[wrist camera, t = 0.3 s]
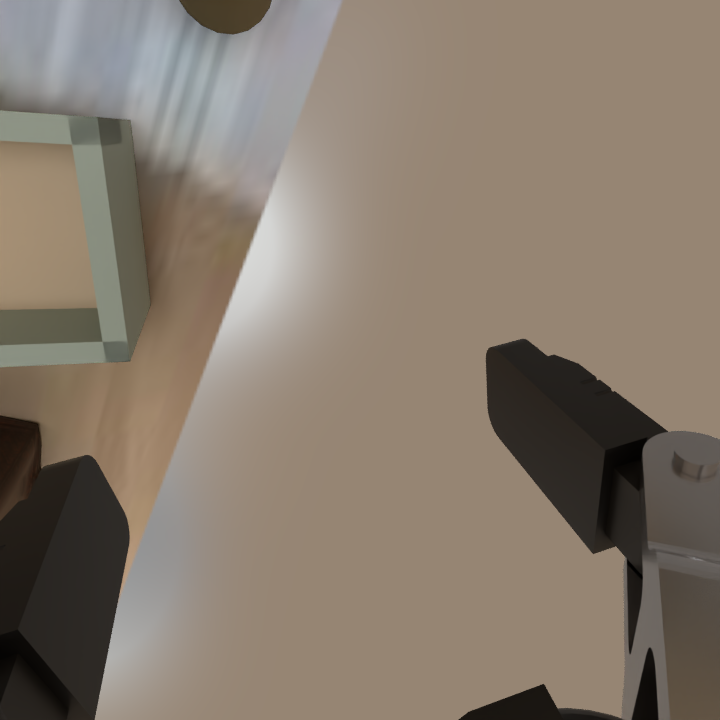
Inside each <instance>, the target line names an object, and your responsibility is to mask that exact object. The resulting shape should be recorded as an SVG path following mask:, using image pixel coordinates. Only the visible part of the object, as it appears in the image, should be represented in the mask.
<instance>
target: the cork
mask: <svg viewBox="0 0 720 720" xmlns="http://www.w3.org/2000/svg"><path fill="white" fill-rule="evenodd" d="M180 2H181V4H182V5H183V7H184V8H185V10H186V11H187V13H188V14H190V15H191V16H192V17H193V18H194V19H195V20H196V21H197V22H199V23H200V24H201V25H202V26H204V27H207V28H209V29H211V30H213V31H215V32H217V33H226V34H237V33H240V32H244V31H248V30H249V29H251V28H252V27H254V26H255V25H256V24H258V23H259V22H260V21H261V20H262V18H263V17H264V15H265V14H266V12H267V11H268V9H269V8H270V4H271V0H180Z"/></svg>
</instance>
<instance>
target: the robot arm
mask: <svg viewBox="0 0 720 720" xmlns="http://www.w3.org/2000/svg"><path fill="white" fill-rule="evenodd" d="M486 374H487V401H488V402H487V404H488V413H489V418H490V421H491V424H492V427H493V429H494V431H495V433H496V434H497V436H498V437H499V439H500V440H501V441H502V442H503V443H504V445H505V446H506V447H507V448H508V449H509V451H510V452H511V453H512V455H513V456H514V457H515V458H516V459H517V461H518V462H519V463H520V464H521V466H522V467H523V468H524V469H525V471H526V472H527V473H528V474H529V475H530V477H531V478H532V479H533V480H534V482H535V483H536V484H537V485H538V486H539V488H540V489H541V490H542V492H543V493H544V494H545V495H546V497H547V498H548V499H549V500H550V501H551V502H552V504H553V505H554V506H555V508H556V509H557V510H558V511H559V513H560V514H561V515H562V516H563V517H564V518H565V520H566V521H567V522H568V524H569V525H570V526H571V527H572V529H573V530H574V531H575V532H576V534H577V535H578V536H579V537H580V538H581V540H582V541H583V542H584V543H585V545H586V546H587V547H588V548H589V549H590V551H591V552H592V553H593V554H594V553H598V552H601V551H604V550H606V549H609V548H612V547H615V546H616V547H617V548H618V549H619V550H620V551H621V552H622V554H623V555H624V556H625V561H624V569H623V573H624V576H623V577H624V650H625V651H624V652H625V672H624V689H623V700H622V718H618V717H615V716H612V715H609V714H604V713H600V712H595V711H591V710H583V709H572V708H559V709H557V707H556V705H555V703H554V701H553V700H552V698H551V696H550V694H549V693H548V690H547V689H546V687H545V685H544V684H542V685H540V686H537V687H534V688H531V689H529V690H526V691H523V692H521V693H518V694H515V695H513V696H510V697H507V698H505V699H502V700H499V701H497V702H494V703H491V704H489V705H486V706H483V707H481V708H478V709H475V710H472V711H470V712H468V713H467V714H465V715H464V716H463V717H461V718H460V719H459V720H720V439H717V438H714V437H712V436H709V435H705V434H701V433H696V432H687V431H671V432H668V431H667V430H665V429H664V428H663V427H662V426H660V425H659V424H658V423H656V422H655V421H654V420H652V419H651V418H650V417H648V416H647V415H646V414H644V413H643V412H642V411H640V410H639V409H638V408H636V407H635V406H634V405H632V404H631V403H630V402H628V401H627V400H626V399H624V398H623V397H622V396H620V395H619V394H618V393H617V392H615V391H614V392H612V391H611V388H610V387H609V386H607V385H606V384H605V383H603V382H602V381H601V380H597V379H596V377H595V376H594V375H592V374H591V373H590V372H589V371H587V370H586V369H585V368H583V367H582V366H581V365H579V364H578V363H575V362H572V361H570V360H567V359H564V358H562V357H559V356H556V355H551V356H547V355H545V354H544V353H543V352H541V351H540V350H539V349H538V348H537V347H535V346H534V345H533V344H531V343H530V342H529V341H528V340H526V339H520V340H516V341H512V342H509V343H505V344H501V345H498V346H494V347H490V348H489V349H488V350H487V353H486ZM129 539H130V537H129V526H128V522H127V518H126V515H125V513H124V511H123V509H122V507H121V505H120V503H119V501H118V500H117V498H116V496H115V494H114V492H113V491H112V489H111V487H110V485H109V483H108V481H107V480H106V478H105V476H104V474H103V472H102V471H101V469H100V467H99V465H98V463H97V462H96V460H95V459H94V458H93V457H92V456H90V455H84V456H81V457H77V458H73V459H70V460H66V461H62V462H58V463H55V464H51V465H47V466H45V467H43V468H42V469H41V471H40V473H39V475H38V477H37V479H36V481H35V483H34V485H33V487H32V490H31V492H30V494H29V496H28V498H27V499H25V500H21V501H18V502H17V504H16V505H15V506H14V507H13V508H12V509H11V510H10V511H9V512H8V513H7V514H6V515H5V516H4V517H3V519H2V520H1V521H0V720H95V715H96V709H97V704H98V699H99V694H100V689H101V684H102V679H103V674H104V668H105V664H106V659H107V654H108V648H109V643H110V638H111V634H112V628H113V623H114V618H115V613H116V608H117V603H118V598H119V593H120V588H121V583H122V578H123V573H124V568H125V563H126V558H127V552H128V547H129Z"/></svg>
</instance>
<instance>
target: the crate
mask: <svg viewBox="0 0 720 720" xmlns="http://www.w3.org/2000/svg"><path fill="white" fill-rule="evenodd" d="M150 305H151V303H150V294H149V285H148V276H147V266H146V257H145V248H144V239H143V230H142V221H141V212H140V203H139V194H138V185H137V176H136V167H135V158H134V148H133V139H132V130H131V121H130V120H122V119H111V118H100V117H86V116H72V115H57V114H43V113H29V112H14V111H0V367H15V366H37V365H60V364H83V363H105V362H128V361H130V360H131V357H132V355H133V352H134V349H135V346H136V344H137V341H138V338H139V335H140V333H141V330H142V327H143V324H144V322H145V319H146V316H147V313H148V311H149V308H150Z"/></svg>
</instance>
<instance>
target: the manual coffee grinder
mask: <svg viewBox="0 0 720 720" xmlns="http://www.w3.org/2000/svg"><path fill="white" fill-rule="evenodd" d="M40 459H41V441H40V435H39V429H38V424H35V423H30V422H26V421H21V420H17V419H12V418H8V417H3V416H0V521H1V520H2V519H3V517H4V516H5V515H6V514H7V513H8V512H9V511H10V510H11V509H12V508H13V507H14V506H15V505H16V504H17V502H18V501H21V500H25V499H27V498H28V496H29V494H30V492H31V490H32V487H33V485H34V483H35V481H36V479H37V477H38V475H39V473H40V471H41V468H40Z"/></svg>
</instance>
